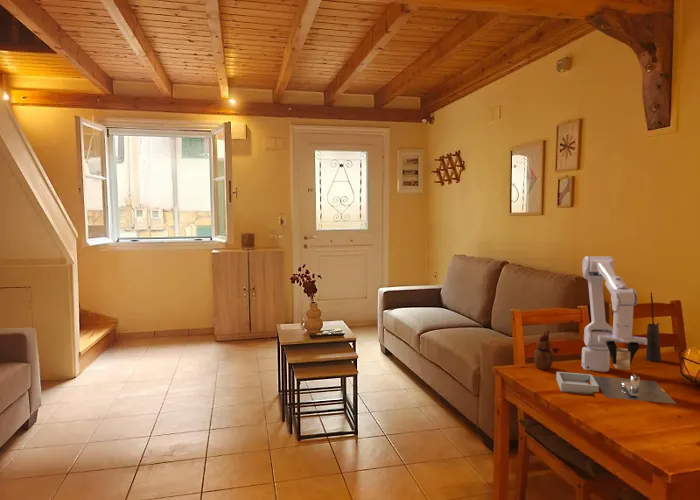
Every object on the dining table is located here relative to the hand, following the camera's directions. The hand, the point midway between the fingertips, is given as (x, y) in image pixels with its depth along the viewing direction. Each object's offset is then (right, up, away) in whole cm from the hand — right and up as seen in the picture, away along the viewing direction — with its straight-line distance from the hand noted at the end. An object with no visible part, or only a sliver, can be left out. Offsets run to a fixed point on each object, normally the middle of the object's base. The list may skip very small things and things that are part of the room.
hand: (621, 363), depth 161 cm
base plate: (+3, -9, -1) cm, 10 cm away
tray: (-13, -9, +4) cm, 17 cm away
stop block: (0, -1, 0) cm, 1 cm away
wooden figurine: (-17, -8, +24) cm, 30 cm away
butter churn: (+32, -6, +32) cm, 46 cm away
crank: (+1, -8, -4) cm, 9 cm away
